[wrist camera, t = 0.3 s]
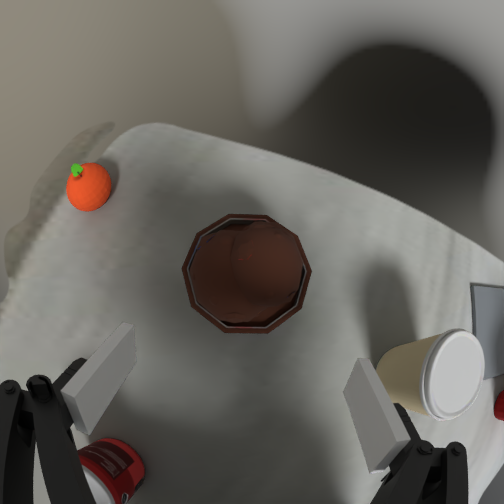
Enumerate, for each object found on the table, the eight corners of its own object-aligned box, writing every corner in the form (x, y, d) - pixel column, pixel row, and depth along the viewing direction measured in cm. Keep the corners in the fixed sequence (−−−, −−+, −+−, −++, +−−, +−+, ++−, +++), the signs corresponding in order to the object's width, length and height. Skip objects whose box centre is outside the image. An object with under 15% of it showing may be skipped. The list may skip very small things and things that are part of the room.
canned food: (109, 488, 21) (72, 521, 10) (84, 438, 23) (36, 458, 13) (157, 485, 22) (129, 526, 12) (131, 432, 24) (88, 459, 14)
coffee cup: (402, 418, 26) (461, 432, 15) (354, 388, 28) (410, 400, 17) (433, 360, 29) (494, 352, 18) (391, 326, 31) (451, 309, 20)
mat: (510, 371, 28) (512, 370, 27) (470, 382, 28) (474, 382, 27) (508, 290, 34) (511, 289, 33) (470, 286, 33) (473, 285, 33)
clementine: (70, 198, 35) (49, 173, 29) (102, 170, 37) (85, 141, 31) (91, 228, 34) (67, 204, 27) (126, 196, 36) (108, 167, 29)
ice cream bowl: (271, 240, 34) (293, 163, 20) (301, 324, 31) (353, 299, 17) (189, 262, 33) (158, 196, 19) (214, 352, 29) (193, 351, 15)
